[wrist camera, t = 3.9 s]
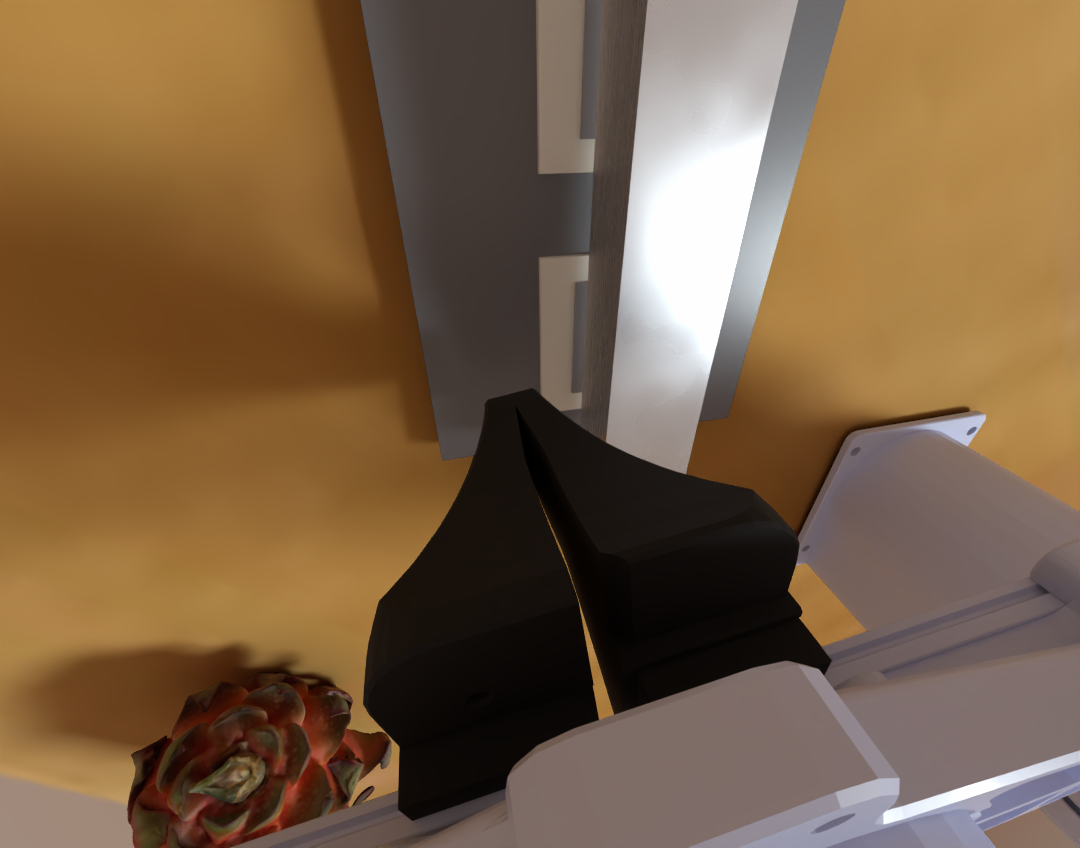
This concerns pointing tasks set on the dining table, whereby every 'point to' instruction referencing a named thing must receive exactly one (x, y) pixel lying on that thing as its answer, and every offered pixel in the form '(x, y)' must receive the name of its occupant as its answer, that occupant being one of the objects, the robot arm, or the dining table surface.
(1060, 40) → the dining table surface
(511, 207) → the label plate
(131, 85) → the dining table surface
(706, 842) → the robot arm
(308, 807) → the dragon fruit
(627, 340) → the swing bar
